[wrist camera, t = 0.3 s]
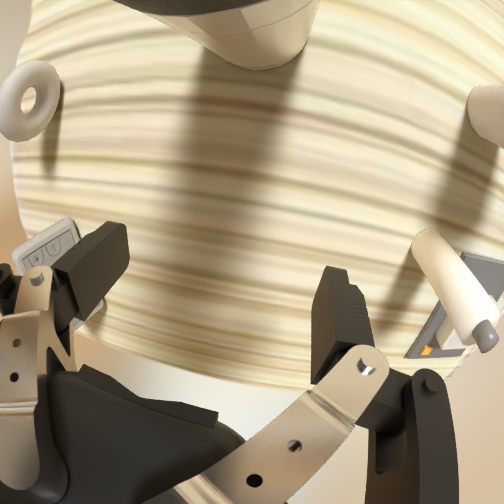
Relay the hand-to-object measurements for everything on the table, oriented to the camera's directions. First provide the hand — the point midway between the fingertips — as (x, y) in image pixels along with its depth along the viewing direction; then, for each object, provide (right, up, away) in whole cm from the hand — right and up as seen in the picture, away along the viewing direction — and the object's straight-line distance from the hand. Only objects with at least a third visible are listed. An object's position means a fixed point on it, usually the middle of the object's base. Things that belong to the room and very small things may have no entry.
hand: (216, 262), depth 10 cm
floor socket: (+34, -9, +22) cm, 42 cm away
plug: (+22, +1, +17) cm, 28 cm away
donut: (-23, +20, +13) cm, 33 cm away
